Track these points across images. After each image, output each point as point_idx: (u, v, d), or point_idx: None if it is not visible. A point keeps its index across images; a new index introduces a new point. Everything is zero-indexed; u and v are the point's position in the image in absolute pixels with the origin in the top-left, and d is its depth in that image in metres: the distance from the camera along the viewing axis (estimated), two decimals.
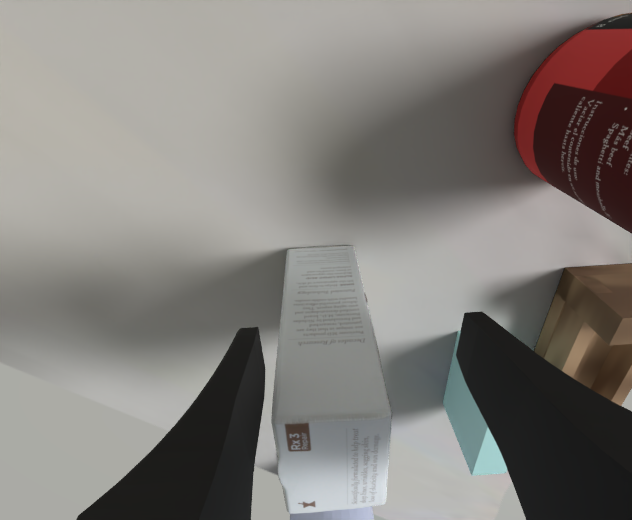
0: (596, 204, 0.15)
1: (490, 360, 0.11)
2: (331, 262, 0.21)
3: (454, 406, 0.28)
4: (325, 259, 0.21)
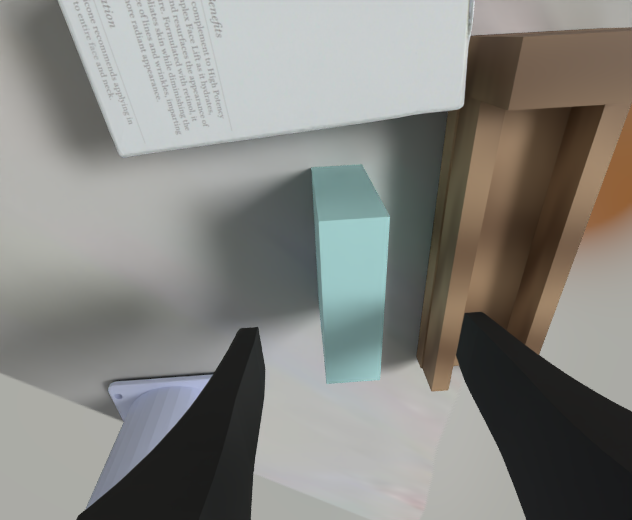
0: None
1: (490, 360, 0.11)
2: None
3: None
4: None
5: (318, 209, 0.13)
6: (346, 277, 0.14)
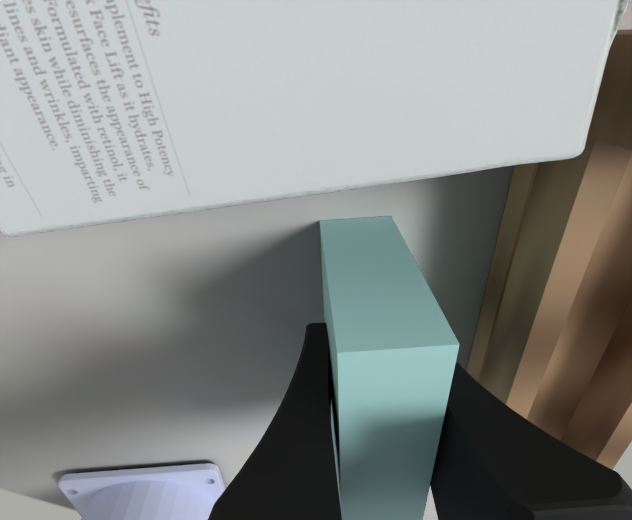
0: None
1: None
2: None
3: None
4: None
5: (335, 319, 0.08)
6: (379, 423, 0.08)
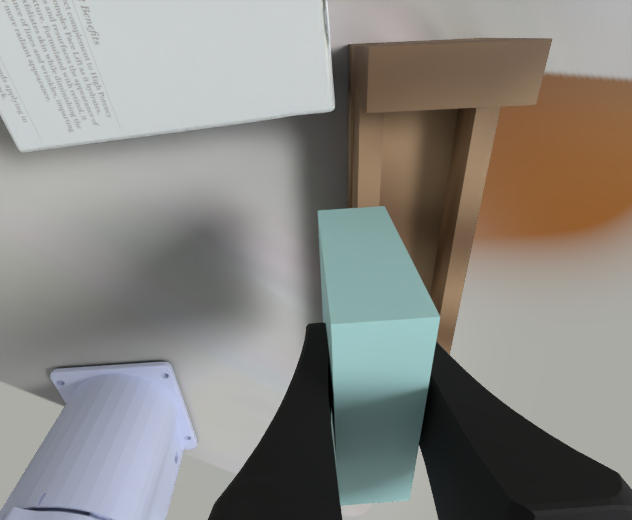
0: None
1: None
2: None
3: None
4: None
5: (329, 296, 0.09)
6: (369, 391, 0.09)
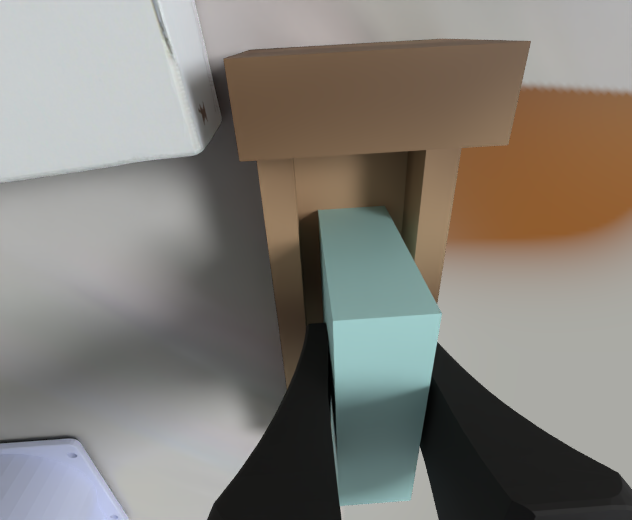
0: None
1: None
2: None
3: None
4: None
5: (331, 293, 0.09)
6: (371, 389, 0.09)
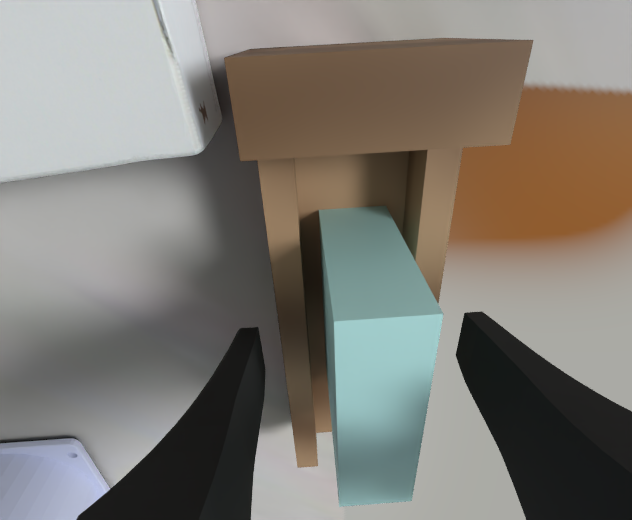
0: None
1: (490, 360, 0.11)
2: None
3: None
4: None
5: (332, 294, 0.09)
6: (372, 389, 0.09)
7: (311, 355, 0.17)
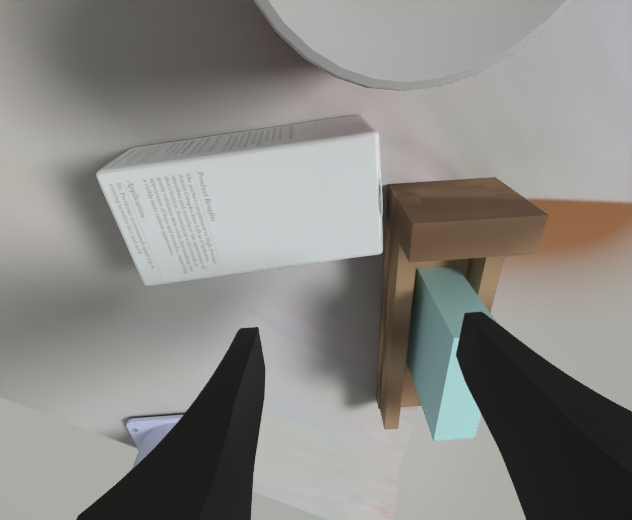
0: None
1: (490, 360, 0.11)
2: (157, 150, 0.17)
3: (416, 363, 0.24)
4: (148, 153, 0.17)
5: (447, 323, 0.18)
6: None
7: None
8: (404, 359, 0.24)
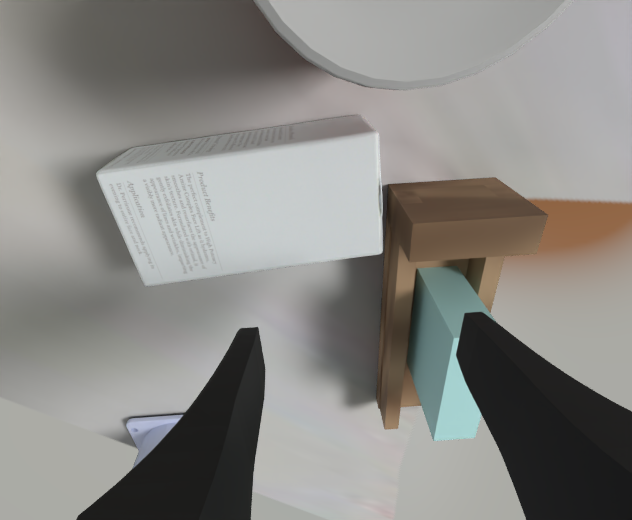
0: None
1: (490, 360, 0.11)
2: (157, 150, 0.17)
3: (416, 363, 0.24)
4: (148, 153, 0.17)
5: (447, 323, 0.18)
6: None
7: None
8: (404, 359, 0.24)
